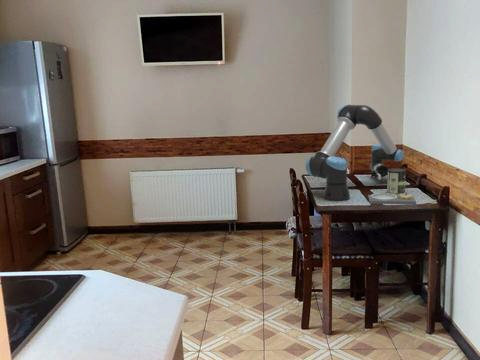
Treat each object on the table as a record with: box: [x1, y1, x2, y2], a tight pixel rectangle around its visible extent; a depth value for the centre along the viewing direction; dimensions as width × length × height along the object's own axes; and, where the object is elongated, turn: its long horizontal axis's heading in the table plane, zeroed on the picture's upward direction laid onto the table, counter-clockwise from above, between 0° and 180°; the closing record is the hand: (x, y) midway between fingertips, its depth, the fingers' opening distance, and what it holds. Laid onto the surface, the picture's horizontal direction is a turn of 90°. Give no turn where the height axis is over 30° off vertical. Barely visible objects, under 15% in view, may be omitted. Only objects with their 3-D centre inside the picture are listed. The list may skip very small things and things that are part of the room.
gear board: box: [367, 192, 417, 205], centre depth 259 cm, size 24×14×4 cm, turn 80°
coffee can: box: [386, 167, 407, 195], centre depth 274 cm, size 10×10×14 cm
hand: (391, 177), depth 284 cm, fingers open, 13 cm apart
